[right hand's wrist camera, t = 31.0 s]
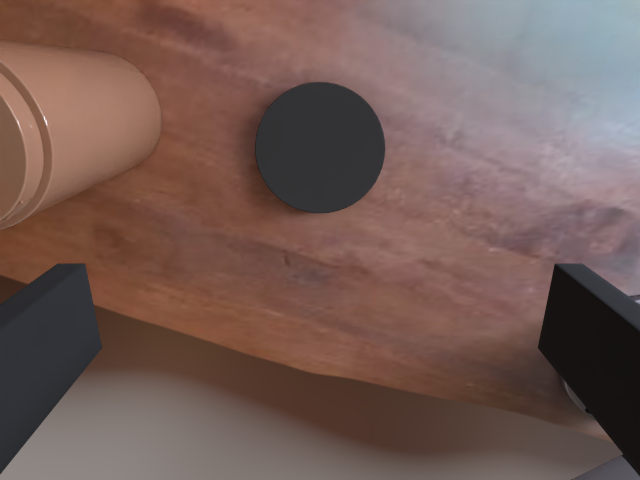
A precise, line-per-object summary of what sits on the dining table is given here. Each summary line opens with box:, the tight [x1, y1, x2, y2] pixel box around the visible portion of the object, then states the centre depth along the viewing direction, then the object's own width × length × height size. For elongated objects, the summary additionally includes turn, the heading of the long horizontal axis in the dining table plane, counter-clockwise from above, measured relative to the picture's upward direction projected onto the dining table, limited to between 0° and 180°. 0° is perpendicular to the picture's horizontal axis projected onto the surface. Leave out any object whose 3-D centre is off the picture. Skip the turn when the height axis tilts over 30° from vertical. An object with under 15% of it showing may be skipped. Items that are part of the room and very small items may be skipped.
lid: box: [255, 82, 385, 213], centre depth 39 cm, size 11×11×2 cm
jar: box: [0, 39, 162, 230], centre depth 30 cm, size 10×10×19 cm
